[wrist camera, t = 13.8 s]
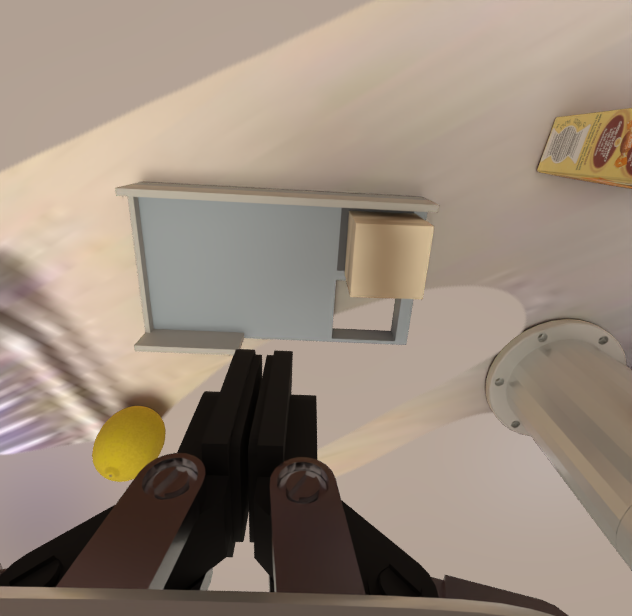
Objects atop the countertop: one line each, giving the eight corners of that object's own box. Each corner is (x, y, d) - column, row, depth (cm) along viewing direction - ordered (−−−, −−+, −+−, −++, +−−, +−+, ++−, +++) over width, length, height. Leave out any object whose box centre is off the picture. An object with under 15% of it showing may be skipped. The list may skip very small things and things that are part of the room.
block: (415, 213, 30) (434, 226, 25) (406, 276, 31) (422, 299, 27) (349, 210, 29) (356, 223, 25) (344, 274, 31) (350, 296, 27)
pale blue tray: (422, 196, 31) (441, 206, 26) (401, 334, 36) (414, 362, 31) (141, 181, 30) (111, 188, 26) (158, 323, 35) (134, 351, 31)
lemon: (159, 443, 40) (125, 510, 33) (110, 417, 39) (63, 480, 32) (186, 408, 39) (157, 470, 31) (136, 379, 37) (93, 437, 30)
